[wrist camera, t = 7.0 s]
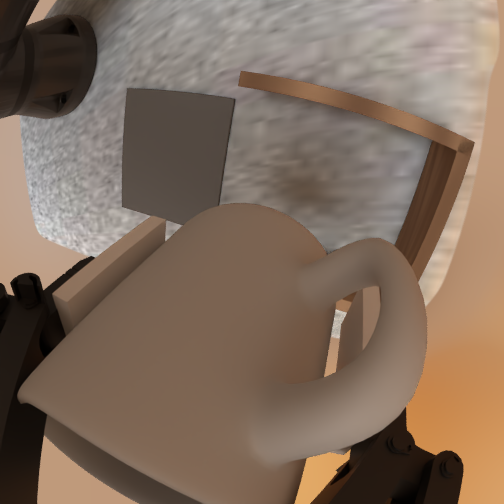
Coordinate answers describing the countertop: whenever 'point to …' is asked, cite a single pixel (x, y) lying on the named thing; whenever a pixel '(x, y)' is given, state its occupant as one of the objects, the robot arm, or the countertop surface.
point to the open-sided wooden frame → (433, 176)
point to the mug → (230, 362)
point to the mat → (174, 152)
